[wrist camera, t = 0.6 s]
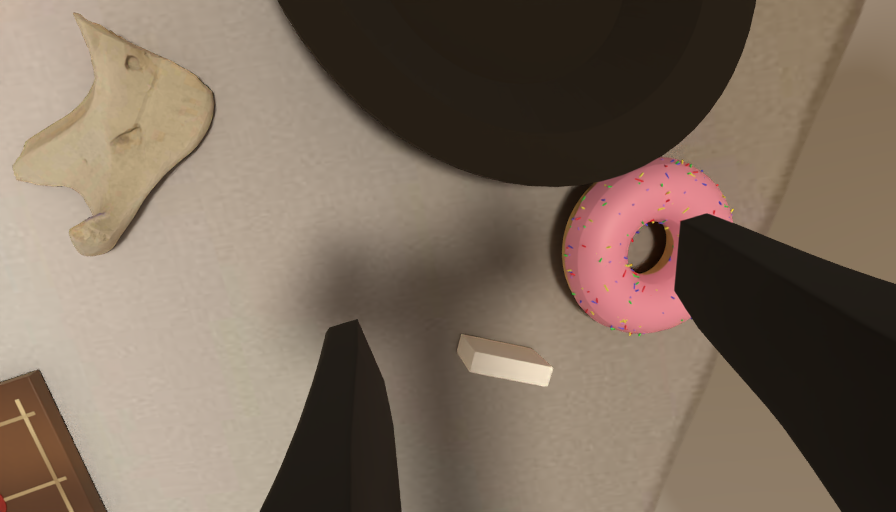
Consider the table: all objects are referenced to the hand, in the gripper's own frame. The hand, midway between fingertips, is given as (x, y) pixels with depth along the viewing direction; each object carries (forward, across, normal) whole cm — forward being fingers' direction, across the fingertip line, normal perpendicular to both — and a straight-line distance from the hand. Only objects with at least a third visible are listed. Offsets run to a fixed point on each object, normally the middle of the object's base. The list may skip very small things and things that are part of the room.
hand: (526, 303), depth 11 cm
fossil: (+21, +16, +1) cm, 27 cm away
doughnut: (+17, -11, +14) cm, 25 cm away
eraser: (+15, -1, +18) cm, 23 cm away
